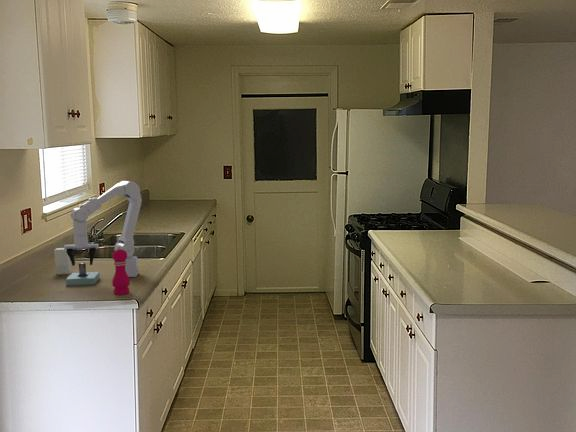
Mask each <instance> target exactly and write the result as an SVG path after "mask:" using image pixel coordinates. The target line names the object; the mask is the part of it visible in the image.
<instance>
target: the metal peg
mask: <svg viewBox="0 0 576 432" xmlns="http://www.w3.org/2000/svg"><path fill="white" fill-rule="evenodd" d="M86 272H87V263H86V262H79V263H78V273H79V277H86Z"/></svg>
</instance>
